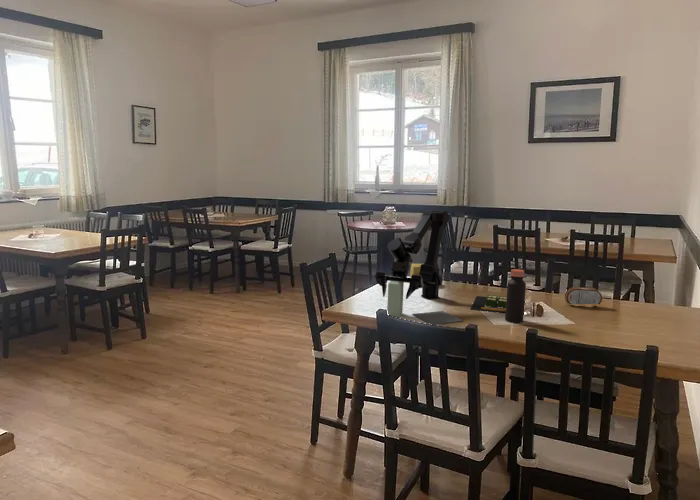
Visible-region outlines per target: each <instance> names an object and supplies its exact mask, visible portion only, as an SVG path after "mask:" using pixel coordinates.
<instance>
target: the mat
mask: <svg viewBox="0 0 700 500" xmlns="http://www.w3.org/2000/svg"><path fill="white" fill-rule="evenodd" d="M412 316H414V317H416V318H418V319H419V320H421V321H423V322H425V323H427V324H429V323H430V324H429V325H431V324H434V325H440V324H441V325H443V324H449V323H461V322H463V320H462V319H461V318H458V317H457V316H454V315H452V314H450V313H448V312H445V311H444V310H439V311H429V312H416V313H412Z"/></svg>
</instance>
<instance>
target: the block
mask: <svg viewBox="0 0 700 500" xmlns="http://www.w3.org/2000/svg"><path fill="white" fill-rule="evenodd" d="M387 283H388V282H387ZM404 283H405V282H397V281H389V283H388V284H387V286H388V287H387V311H388V314H389V315H391V316H390V317H394V316H396V318H400V317H401V316H402V315H403V312H404V311H403V309H404V307H403V305H404V288H405V287H404V285H405V284H404Z"/></svg>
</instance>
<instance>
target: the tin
mask: <svg viewBox="0 0 700 500" xmlns="http://www.w3.org/2000/svg"><path fill="white" fill-rule="evenodd" d="M564 299H565V302H566V303H567V304H568V303H569V304H568V305H570V304H599V305H601V303H602V300H603V296H602V292H600V291H599V289H597V288H595V287H584V286H582V287H581V286H580V287H579V286H573V287H570V288H568V289H567V290H566V291H565V294H564Z"/></svg>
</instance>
